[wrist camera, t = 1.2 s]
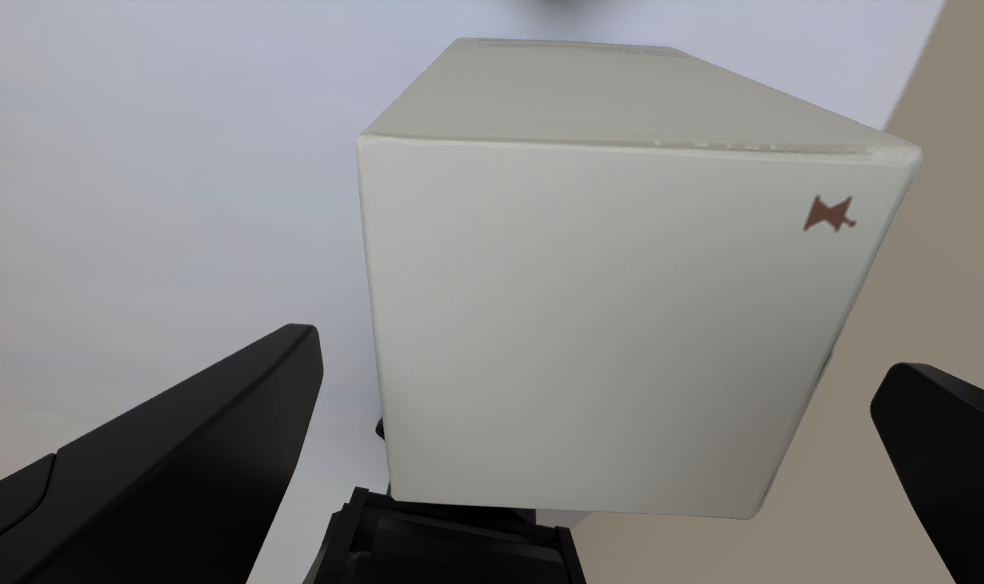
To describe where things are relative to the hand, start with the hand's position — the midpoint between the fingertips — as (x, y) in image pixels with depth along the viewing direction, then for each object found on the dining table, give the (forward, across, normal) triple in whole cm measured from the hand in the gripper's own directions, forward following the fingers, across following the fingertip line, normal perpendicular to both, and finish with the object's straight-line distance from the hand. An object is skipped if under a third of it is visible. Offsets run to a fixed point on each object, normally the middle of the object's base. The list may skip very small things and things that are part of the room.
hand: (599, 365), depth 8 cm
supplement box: (+13, 0, 0) cm, 13 cm away
